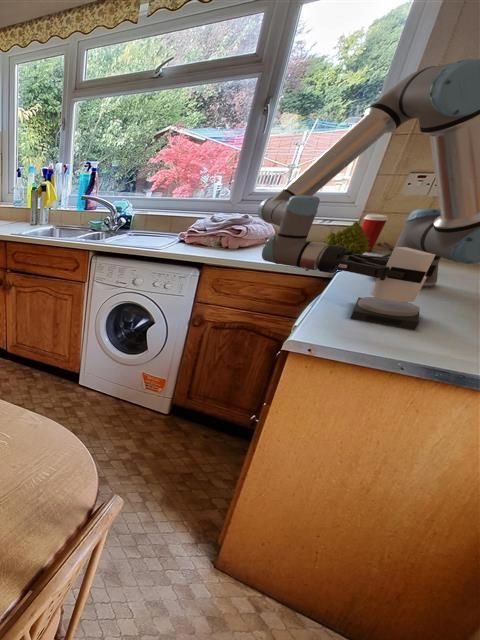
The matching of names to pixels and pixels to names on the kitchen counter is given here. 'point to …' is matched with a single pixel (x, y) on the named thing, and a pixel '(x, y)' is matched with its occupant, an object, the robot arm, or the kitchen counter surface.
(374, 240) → the paper cup
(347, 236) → the vegetable
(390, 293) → the white stepped block
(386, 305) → the kitchen scale
